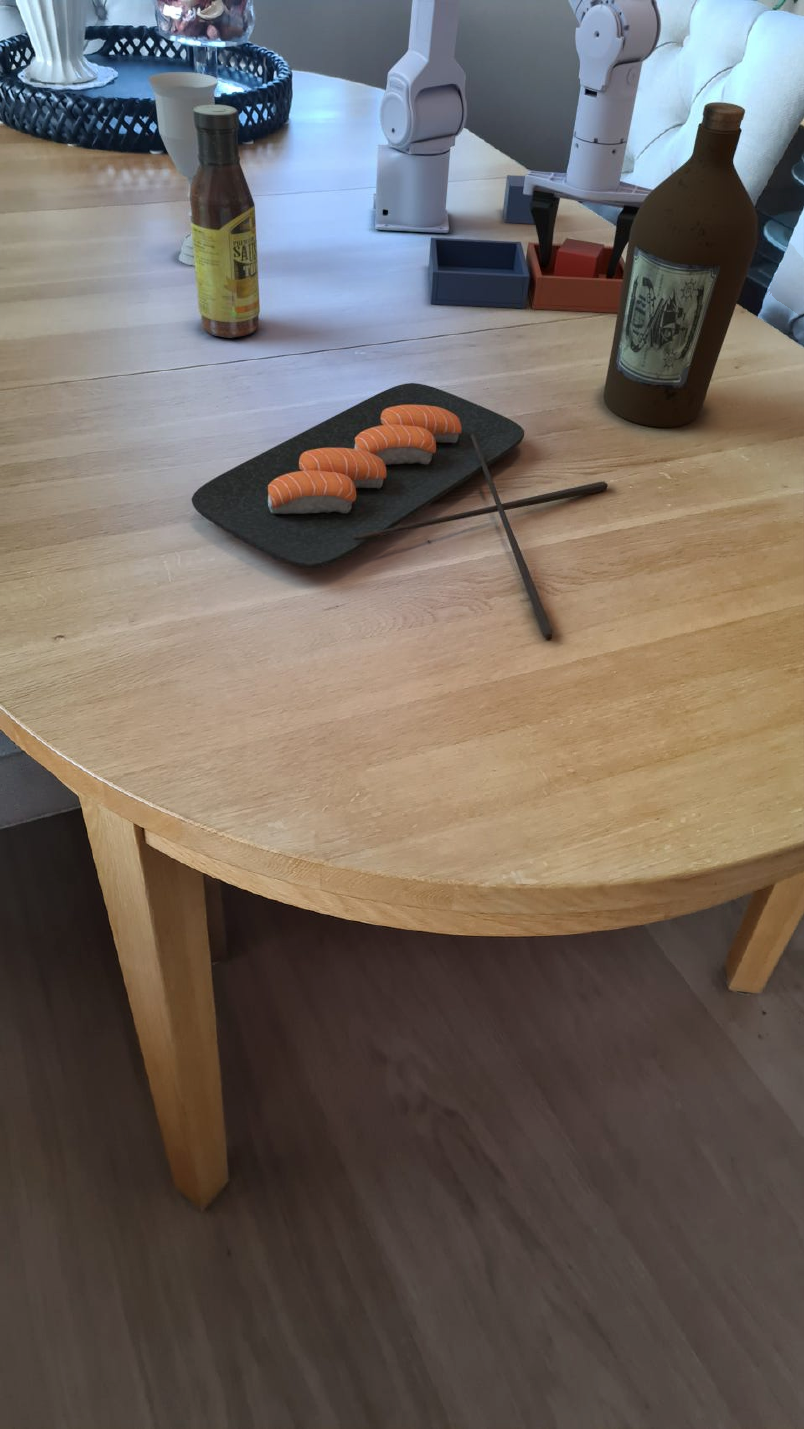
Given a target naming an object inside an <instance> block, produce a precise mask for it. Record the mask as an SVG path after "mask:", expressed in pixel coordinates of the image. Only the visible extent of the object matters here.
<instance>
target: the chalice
mask: <svg viewBox="0 0 804 1429" xmlns="http://www.w3.org/2000/svg"><path fill="white" fill-rule="evenodd" d="M147 81H148V82H149V84H150V86H151V88H152V90H153V92H154V99H155V108H156V109H155V110H156V118H157V125H158V133H159V136H160V138H161V140H162V142H163V145H164V147H165V149H166V152H167V154H168V155H169V158H170V159H171V161H172V164H174V166H175V169H176V170H177V172H178V174H179V175H181V176H183V177H185V178H187V182H188V193H187V195H186V196H187V198H188V200H189V201H190V187H191V184H192V180H193V177H194V175H196V173H197V170H198V167H199V165H200V162H199V159H198V154H199V151H198V140H197V129H196V128H195V124H194V114H193V109H194V108H195V107H198V106H202V105H216V101H215V91H216V88H217V85H218V82H219V80H218V78H216V77H215V76H212V75H209V74H205V73H198V72H189V71H188V72H187V71H172V72H162V73H161V72H160V73H155V74H153V75H151V76H149V77H148V78H147ZM187 215H188V216H189V217H190V218H191V217H192V214H191V209H190V210H189V212H188V214H187ZM178 260H179V262H181V263H183V264H185V265H188V266H193V267H195V262H194V251H193V240H192V231H190V234H188V235H186V236H185V238H183V240H182V246H181V248H180V253H179V256H178Z"/></svg>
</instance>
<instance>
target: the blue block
mask: <svg viewBox="0 0 804 1429" xmlns="http://www.w3.org/2000/svg"><path fill="white" fill-rule="evenodd" d="M524 183H525V175H510V174H507V175H506V180H505V189H504V198H503V207H502V213H503V218H504V221H505V223H507V224H524V225H525V224H526V225H535V223H534V220H533V217H532V214H531V212H530V202H531V201H532V197H533V195H526V194H523V191H524Z"/></svg>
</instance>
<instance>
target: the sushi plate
mask: <svg viewBox="0 0 804 1429" xmlns="http://www.w3.org/2000/svg"><path fill="white" fill-rule="evenodd" d="M524 437H525V430H524V429H523V427H522V426H521V425H519V424H518V423H517V422H515V421H514V420H512V419H511V418H508V417H506V416H504V415H502V414H500V413H498V412H496V411H493V410H491V409H488V408H486V407H483V406H482V405H480V404H477V403H474V402H472V401H470V400H468V399H465V398H462V397H460V396H458V395H455V394H453V393H450V392H447V391H445V390H442V389H439V388H437V387H434V386H431V385H428V384H424V383H423V384H422V383H416V382H409V383H401V384H399V385H395V386H393V387H390V388H387V389H386V390H382V391H381V392H378V393H377V394H375V395H373V396H371V397H368V398H367V399H365V400H362V401H360V402H359V403H356V404H355V405H353V406H351V407H349V408H348V409H345V410H343V411H341V412H340V413H338V414H335V415H333V416H332V417H329V418H327V419H326V420H324V421H322V422H320V423H318V424H316V425H314V426H312V427H310V428H307V429H306V430H304V431H303V432H300V433H299V434H297V435H295V436H292V437H291V438H289V439H287V440H285V441H283V442H281V443H279V444H277V445H275V446H273V447H272V448H270V449H268V450H265V451H264V452H262V453H260V454H257V455H256V456H254V457H252V458H250V459H248V460H246V461H244V462H242V463H241V464H239V465H236V466H235V467H233V468H231V469H228V470H227V471H225V472H223V473H221V474H220V475H218V476H216V477H214V478H213V479H211V480H209V481H208V482H206V483H205V484H203V485H202V486H200V487H199V488H198V489H197V490H195V492H193V494H192V497H191V503H192V506H193V508H194V509H195V510H196V512H198V513H199V514H200V516H202V517H203V518H205V519H206V520H207V521H209V522H210V523H211V524H213V525H215V526H217V527H219V528H220V529H221V530H223V531H225V532H226V533H229V534H230V535H232V536H234V537H236V538H237V539H239V540H241V541H242V542H245V543H246V544H248V545H250V546H251V547H253V548H255V549H256V550H259V551H261V552H263V553H265V554H267V555H268V556H270V557H271V558H274V559H276V560H278V561H280V562H283V563H284V564H287V565H290V566H293V567H297V568H301V569H309V570H314V569H321V568H324V567H328V566H331V565H334V564H336V563H338V562H340V561H341V560H343V559H345V558H347V557H349V556H350V555H352V554H354V553H356V552H357V551H359V550H361V549H362V548H364V547H365V546H368V545H369V544H370V543H371V542H374V541H375V540H376V539H378V538H379V537H381V536H385V535H389V534H394V533H399V532H403V531H409V530H414V529H419V528H424V527H428V526H433V525H438V524H442V523H447V522H452V521H457V520H463V519H467V518H472V517H476V516H482V515H486V514H487V515H488V514H492V513H498V514H499V517H500V519H501V522H502V526H503V528H504V530H505V534H506V537H507V539H508V542H509V545H510V547H511V551H512V553H513V556H514V559H515V562H516V564H517V565H516V566H517V568H518V570H519V574H520V576H521V579H522V582H523V584H524V588H525V590H526V593H527V595H528V598H529V602H530V604H531V607H532V609H533V612H534V615H535V617H536V620H537V624H538V626H539V628H540V632H541V634H542V636H543V638H544V639H545V640H547V639H552V637H553V634H554V632H553V628H552V626H551V623H550V620H549V618H548V615H547V612H546V609H545V607H544V606H543V602H542V600H541V598H540V595H539V593H538V590H537V588H536V585H535V583H534V580H533V578H532V575H531V573H530V570H529V568H528V566H527V563H526V561H525V558H524V555H523V553H522V551H521V549H520V546H519V543H518V541H517V539H516V536H515V533H514V531H513V529H512V526H511V524H510V521H509V519H508V516H507V514H506V512H505V511H508V510H514V509H519V508H524V507H529V506H535V505H541V504H545V503H549V502H555V501H560V500H566V499H571V498H575V497H580V496H585V495H590V494H594V493H599V492H604V491H606V490H607V489H608V486H609V484H608V483H607V482H605V481H598V482H594V483H588V484H584V485H580V486H574V487H570V488H566V489H561V490H557V491H552V492H548V493H544V494H538V495H535V496H529V497H526V498H521V499H517V500H513V501H508V502H503V503H502V501H501V499H500V496H499V494H498V491H497V489H496V486H495V483H494V481H493V479H492V476H491V474H490V470H489V466H491V465H493V464H494V463H495V462H497V461H499V460H500V459H502V458H503V457H504V456H506V455H507V454H509V453H510V452H512V451H513V450H514V449H515V448H517V447H518V446H519V445H520V444H521V442H522V441H523V440H524ZM482 471H483V473H484V476H485V479H486V481H487V485H488V487H489V490H490V493H491V495H492V498H493V500H494V502H495V503H494V504H495V505H491V506H487V507H483V508H477V509H474V510H473V509H472V510H469V511H465V512H460V513H454V514H450V515H446V516H445V515H444V516H442V517H436V518H432V519H426V520H422V521H418V522H414V523H408V524H404V525H400V524H401V523H403V522H405V521H406V520H408V519H409V518H410V517H412V516H414V515H415V514H416V513H419V512H420V511H422V510H423V509H424V508H426V507H427V506H430V505H431V504H432V503H433V502H435V501H437V500H438V499H440V498H441V497H443V496H445V495H446V494H448V493H449V492H451V491H452V490H454V489H455V488H457V487H458V486H460V485H462V484H464V483H465V482H466V481H468V480H469V479H471V478H473V477H475V475H477V474H478V473H481V472H482ZM398 525H399V526H398Z"/></svg>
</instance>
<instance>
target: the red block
mask: <svg viewBox="0 0 804 1429" xmlns="http://www.w3.org/2000/svg"><path fill="white" fill-rule="evenodd" d="M561 244H562V245H561V247H560V248H559V250H558V251H557V258H556V264H555V271H554V276H563V277H583V278H598V277H599V271H600V266H601V261H602V255H603V250H604V246H605V244H604V243H599V242H592V241H587V240H582V239H581V240H580V239H575V238H569V237H565V239H564V241H563V242H562V243H561Z"/></svg>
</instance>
